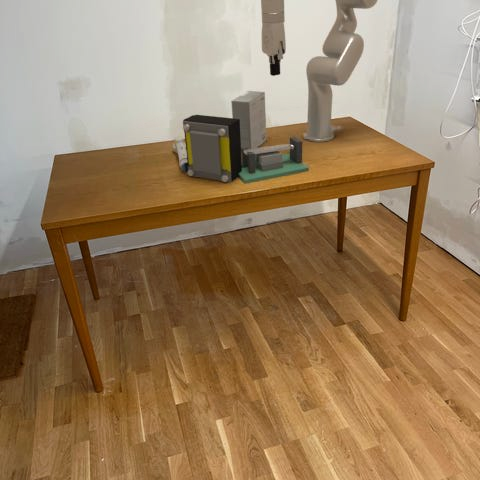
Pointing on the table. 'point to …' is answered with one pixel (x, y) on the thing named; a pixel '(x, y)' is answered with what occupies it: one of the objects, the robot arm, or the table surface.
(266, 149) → the grey long flat bar
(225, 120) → the electrical component
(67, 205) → the table surface
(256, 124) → the hard drive box
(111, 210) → the table surface
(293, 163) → the board
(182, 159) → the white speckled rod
